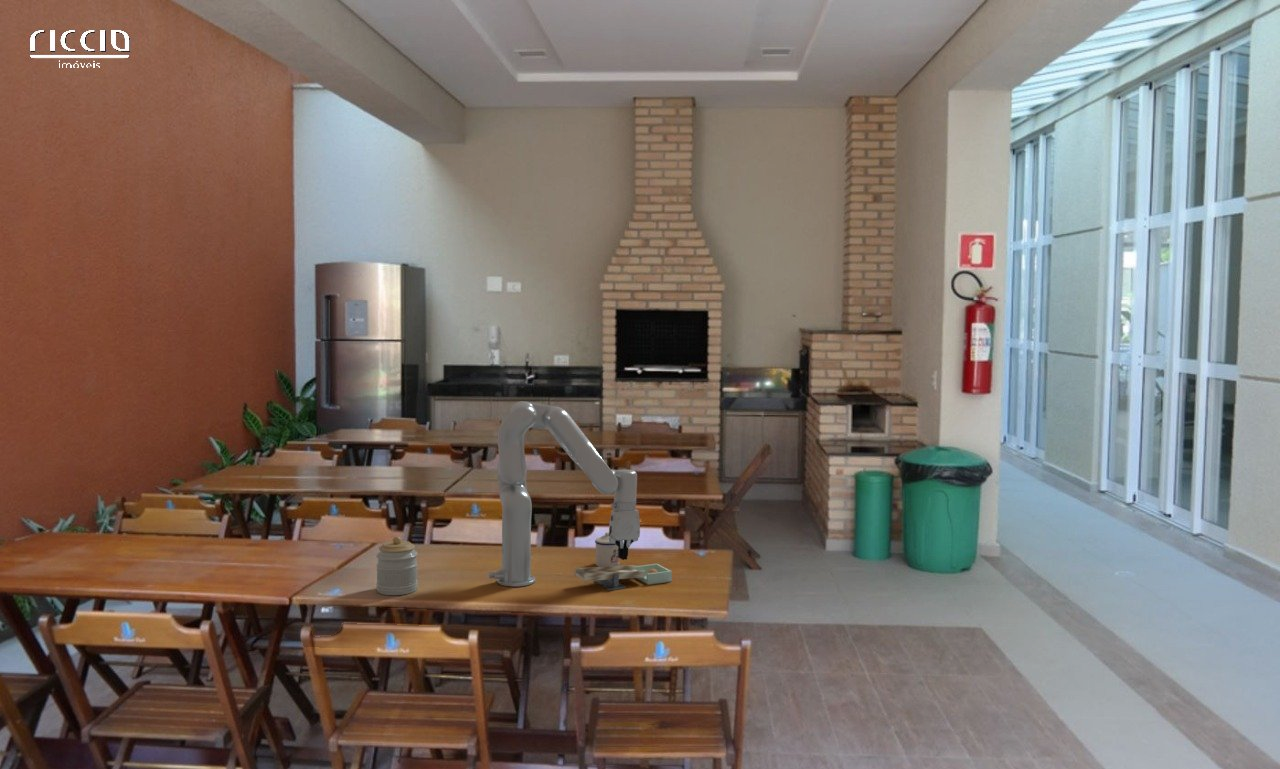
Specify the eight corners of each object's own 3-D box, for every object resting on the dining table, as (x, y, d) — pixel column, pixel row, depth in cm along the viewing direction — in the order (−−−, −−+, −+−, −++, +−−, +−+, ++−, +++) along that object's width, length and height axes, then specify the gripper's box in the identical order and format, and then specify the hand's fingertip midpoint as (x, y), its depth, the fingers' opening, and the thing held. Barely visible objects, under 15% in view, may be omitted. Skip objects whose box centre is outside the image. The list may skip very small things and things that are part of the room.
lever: (584, 580, 304) (584, 572, 304) (568, 570, 316) (569, 563, 316) (644, 577, 315) (645, 569, 314) (627, 567, 326) (627, 560, 326)
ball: (661, 572, 320) (656, 580, 320) (656, 570, 323) (652, 578, 322) (654, 568, 319) (649, 576, 318) (649, 566, 322) (645, 574, 321)
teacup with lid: (614, 569, 332) (615, 536, 332) (591, 566, 335) (591, 534, 335) (626, 560, 344) (626, 529, 343) (603, 558, 347) (603, 527, 346)
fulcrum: (609, 590, 307) (609, 576, 306) (594, 581, 317) (594, 567, 317) (625, 588, 309) (625, 574, 309) (610, 578, 320) (610, 565, 320)
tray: (647, 584, 314) (647, 574, 314) (633, 576, 323) (633, 566, 323) (671, 581, 318) (671, 571, 318) (657, 573, 327) (657, 563, 327)
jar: (407, 597, 297) (407, 542, 295) (369, 594, 299) (368, 540, 298) (424, 585, 309) (424, 532, 308) (387, 583, 312) (386, 530, 310)
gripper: (609, 509, 315) (607, 563, 316) (649, 506, 322) (647, 559, 323) (600, 505, 322) (598, 557, 323) (639, 502, 328) (637, 554, 330)
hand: (622, 558), depth 323 cm, fingers closed
